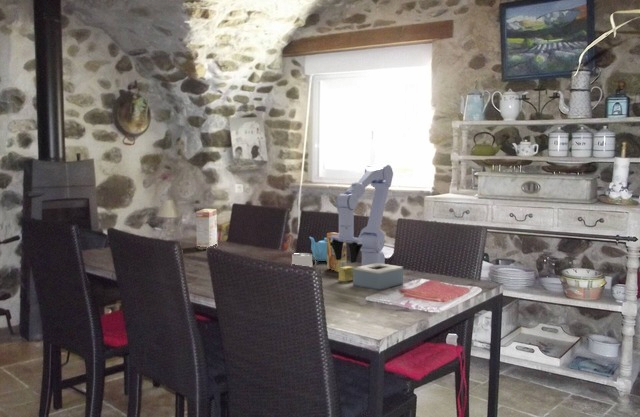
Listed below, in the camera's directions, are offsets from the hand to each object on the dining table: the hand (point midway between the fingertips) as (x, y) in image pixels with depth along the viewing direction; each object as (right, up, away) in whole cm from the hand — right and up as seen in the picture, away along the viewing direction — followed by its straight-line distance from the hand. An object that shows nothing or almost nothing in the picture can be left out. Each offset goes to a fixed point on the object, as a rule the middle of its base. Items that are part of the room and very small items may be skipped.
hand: (346, 261), depth 234 cm
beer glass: (-16, -10, -30) cm, 35 cm away
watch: (-15, -8, -6) cm, 18 cm away
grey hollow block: (+12, -8, -8) cm, 16 cm away
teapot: (-7, -4, +43) cm, 44 cm away
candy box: (-3, -6, +20) cm, 21 cm away
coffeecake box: (-67, 0, +80) cm, 105 cm away
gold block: (0, -7, +1) cm, 7 cm away
